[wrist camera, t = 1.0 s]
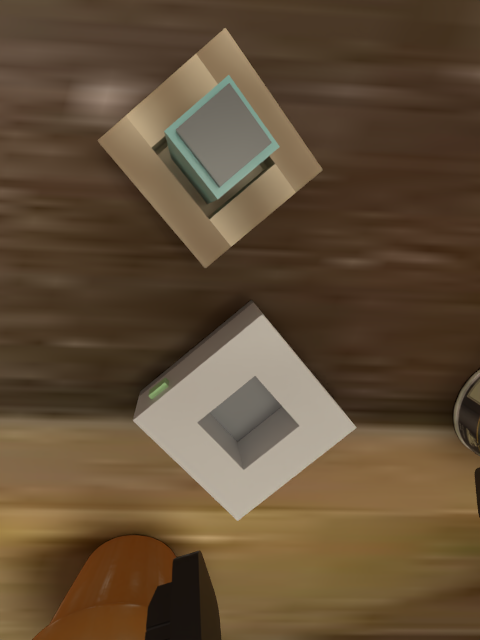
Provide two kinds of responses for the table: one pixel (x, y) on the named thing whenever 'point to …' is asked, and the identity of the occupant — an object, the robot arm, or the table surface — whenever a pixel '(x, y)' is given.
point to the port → (241, 412)
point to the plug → (219, 141)
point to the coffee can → (469, 414)
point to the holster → (172, 185)
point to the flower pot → (113, 591)
